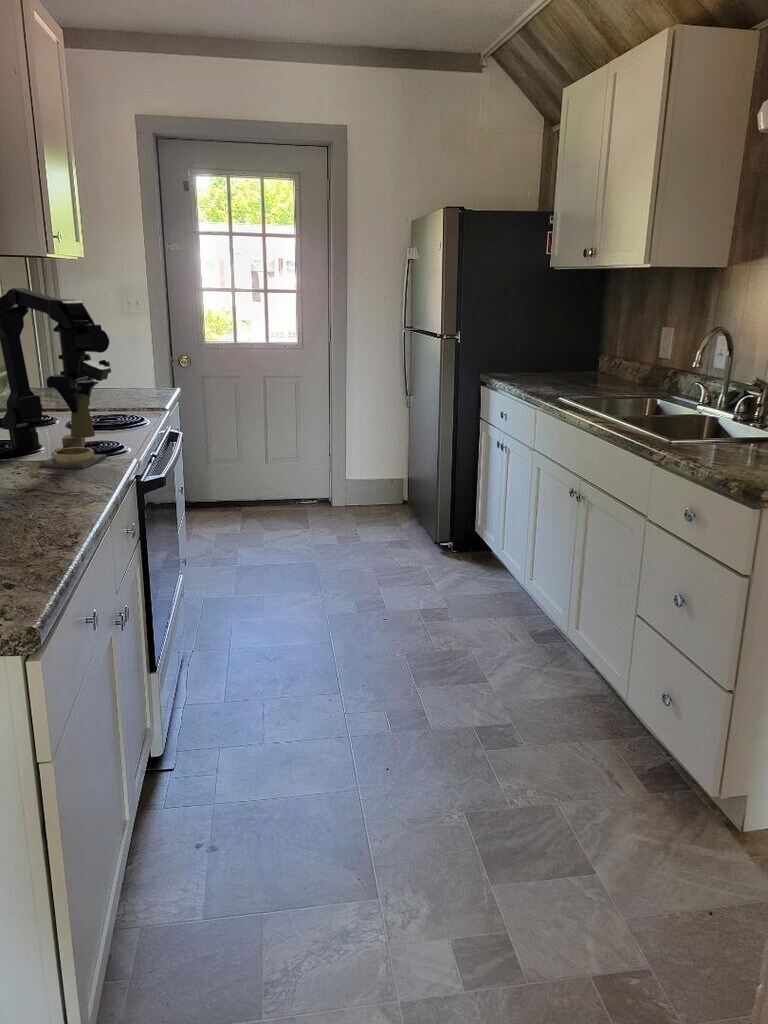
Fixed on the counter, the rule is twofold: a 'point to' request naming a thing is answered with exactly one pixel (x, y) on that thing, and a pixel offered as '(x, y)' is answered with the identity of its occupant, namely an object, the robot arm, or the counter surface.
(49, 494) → the counter surface
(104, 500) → the counter surface
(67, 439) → the walnut block
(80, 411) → the olive brown tapered cylinder
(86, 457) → the cup bracket
